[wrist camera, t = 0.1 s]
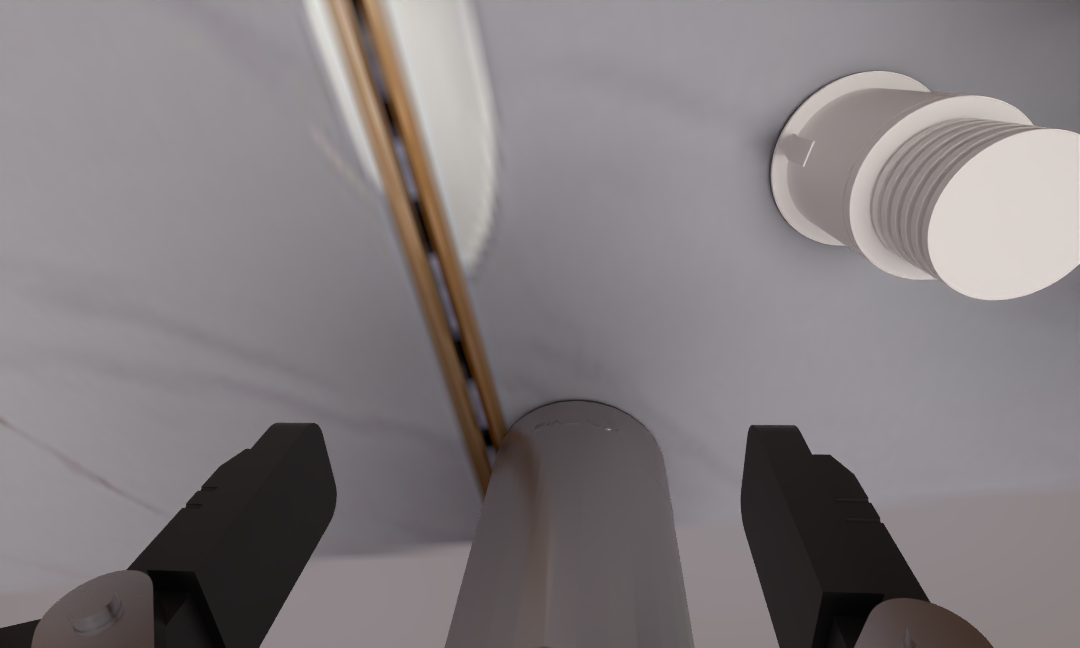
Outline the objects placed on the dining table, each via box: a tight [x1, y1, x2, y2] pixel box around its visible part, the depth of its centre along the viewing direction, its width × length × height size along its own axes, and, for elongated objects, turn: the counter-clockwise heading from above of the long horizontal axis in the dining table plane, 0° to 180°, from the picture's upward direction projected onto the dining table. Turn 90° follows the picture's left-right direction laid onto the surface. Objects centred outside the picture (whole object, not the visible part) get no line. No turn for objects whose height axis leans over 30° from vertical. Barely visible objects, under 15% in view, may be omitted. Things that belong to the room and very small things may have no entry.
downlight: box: [771, 71, 1080, 300], centre depth 20 cm, size 8×7×10 cm
